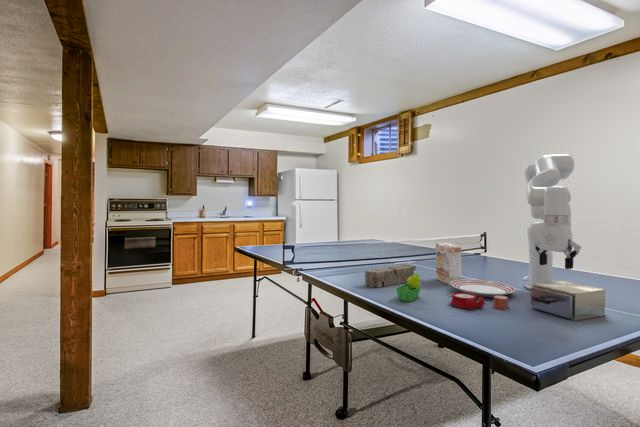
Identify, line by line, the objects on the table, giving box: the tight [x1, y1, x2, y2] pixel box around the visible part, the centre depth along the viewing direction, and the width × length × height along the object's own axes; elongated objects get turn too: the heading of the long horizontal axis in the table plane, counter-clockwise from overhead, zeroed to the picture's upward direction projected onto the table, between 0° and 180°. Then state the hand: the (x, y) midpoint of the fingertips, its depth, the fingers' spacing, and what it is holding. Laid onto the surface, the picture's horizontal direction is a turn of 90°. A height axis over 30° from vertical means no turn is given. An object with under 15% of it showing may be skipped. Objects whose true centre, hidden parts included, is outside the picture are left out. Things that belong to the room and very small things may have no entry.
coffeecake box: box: [435, 242, 462, 286], centre depth 190 cm, size 15×7×20 cm, turn 6°
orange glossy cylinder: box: [493, 295, 509, 310], centre depth 144 cm, size 5×5×4 cm
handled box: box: [530, 287, 573, 319], centre depth 135 cm, size 19×15×8 cm
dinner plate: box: [450, 279, 517, 298], centre depth 167 cm, size 27×27×3 cm
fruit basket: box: [395, 273, 422, 302], centre depth 157 cm, size 11×9×11 cm
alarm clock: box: [448, 291, 488, 311], centre depth 146 cm, size 10×6×15 cm
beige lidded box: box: [533, 280, 606, 322], centre depth 137 cm, size 16×17×10 cm
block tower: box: [364, 263, 417, 289], centre depth 188 cm, size 8×8×29 cm
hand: (555, 266), depth 133 cm, fingers open, 9 cm apart
